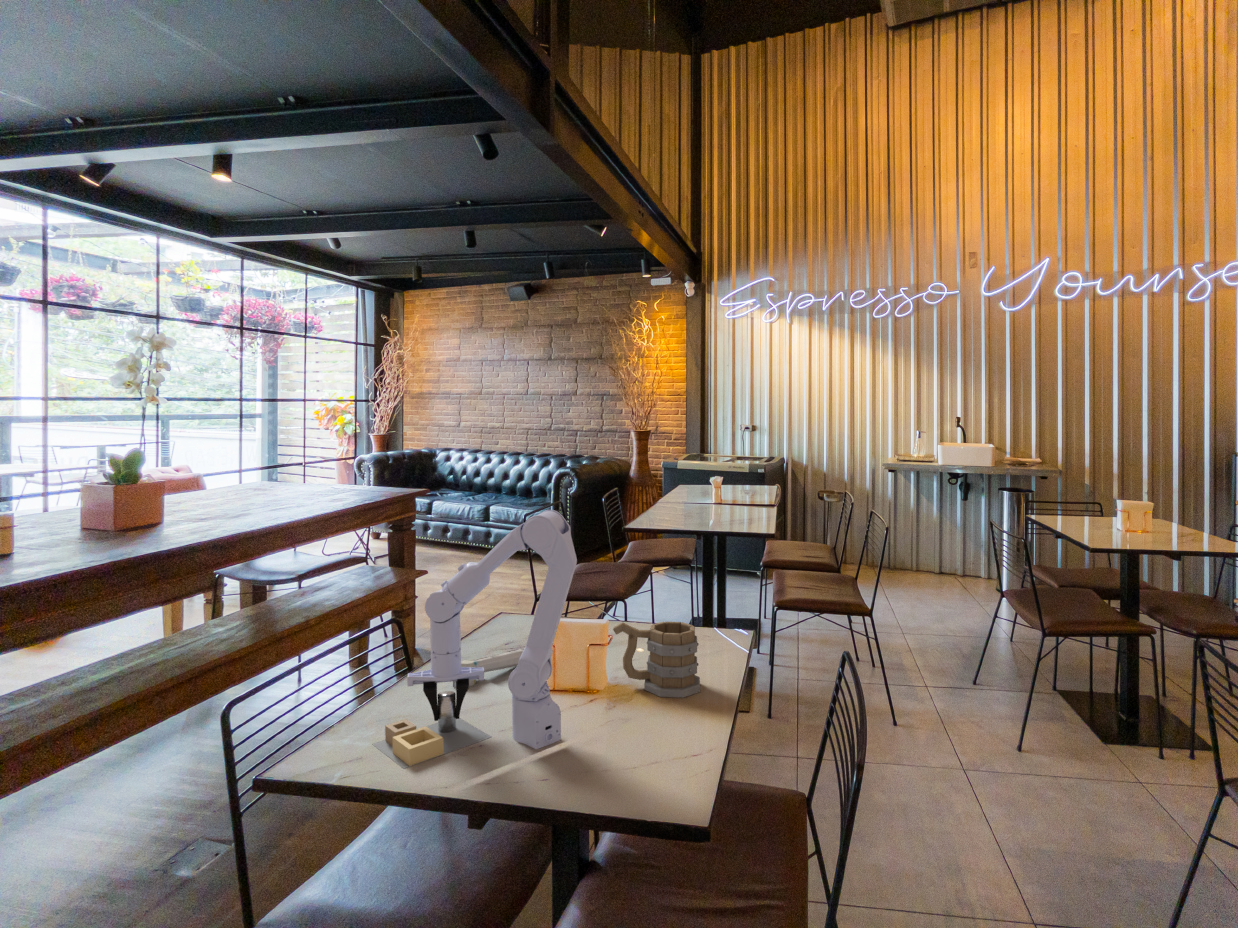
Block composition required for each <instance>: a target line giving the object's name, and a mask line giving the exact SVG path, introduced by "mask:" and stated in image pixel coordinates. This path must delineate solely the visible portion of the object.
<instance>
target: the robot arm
mask: <svg viewBox="0 0 1238 928" xmlns="http://www.w3.org/2000/svg"><path fill="white" fill-rule="evenodd" d="M528 549H532V550H533V551H534V552H535V553H537V555H539V556H540V557H541V558H542V560H543V561H544V563H545V564H546V566H547V572H546V576H545V578H544V583H543V586H542V590H541V593H540V597H539V600H538V602H537V603H538V604H537V606H536V609H535V613H534V616H533V620H532V624H531V626H530V627H531V628H530V631H529V634H528V637H527V641H526V643H525V646H524V647H523V648H524V650H523V653H522V655H521V657H520V659H519V662H518V665H517V666H516V667H515V668H514V669H513V670H512V671H511V672H510V674H509V676H508V680H507V686H508V690H509V691H510V694H511V709H512V711H511V713H512V714H511V715H512V716H511V717H512V718H511V719H512V720H511V721H512V722H511V723H512V724H511V725H512V728H511V729H512V730H511V731H512V733H511V734H512V739H513V740H514V741H515V742H517V743H520V744H524V745H526V746H529V747H530V748H532V749H534V750H538V749H541V748H544V747H546V746H549V745H552V744H554V743H556V742H559V741H561V740H562V721H561V720H562V718H561V717H562V713H561V709H560V706H559V705H558V703H557V702H555V701H554V700H553V698H552V696H551V693H550V691H551V689H550V686H549V684H548V680H549V679H550V677H551V675H552V672H553V665H552V656H553V652H554V651H553V645H554V642H555V637H556V635H557V631H558V628H559V625H560V621H561V617H562V615H563V611H564V607H565V605H566V601H567V598H568V594H569V591H570V589H571V588H570V587H571V585H572V581H573V578H574V573H575V571H576V568H577V563H578V559H577V554H576V551H575V546H574V542H573V538H572V534H571V525H570V524H569V523H568V521H567V520H566V519H565V517H564V516H563V515H562V514H561V513H560V512H559V511H558V510H554V509H546V510H543V511H541V512H539V514H537V515H536V514H535V515H533V516H530V517H529V518H528V519H527V520H525V522H523V523H521V524H519V525H518V526H516V527H514V528H513V529H512V530H511V531H509V532H508V533H507V534H506V535H505V536H504V537H503V538H502V539H501V540H500V541H499V542H498V543H497V544H496V545H495V546H494V547H493V548H492V549H491V550H490V551H488V553H487V554H485V556H484V557H483V558H482V559H481V560H479V561H478V562H477V561H476V562H475V561H469V562H467V563H462V564H461V565H459V567H457V570H458V572H457V573H455V574H454V575H453V576H452V577H451V578H450V579H449V580H444V581H443V582H442V583H441V584H440V586H441V589H439V590H437V591H434V592H432V593H430V595H429V597H428V598H427V599H426V601H425V602H424V603H425V604H424V611H425V614H426V615H427V617H428V618H429V619H430V621H429V624H430V630H429V632H430V633H429V634H430V669H427V670H421V671H417V672H409V673H407V677H406V678H407V680H406V681H407V687H413V686H414V685H416V686H417V685H422V688H423V689H422V691H423V693H424V696H425V697H426V698H427V701H428V702H429V705H430V708H431V710H432V715H433V719H434V722H438V683H439V684H440V683H449V682H450V683H451V682H452V683H453V681H456V688H455V689H456V691H455V694H456V719H459V718H460V713H461V710H462V705H463V702H464V699H465V696H466V694H467V692H468V690H469V688H470V686H469V680H475V679H476V680H478V681H485V672H484V667H480V668H473V667H461V661H462V646H461V645H462V644H461V643H462V641H461V640H462V639H461V634H462V633H461V612H462V611H463V609H464V608H465V606H466V605H467V604H469V603H470V602H471V601H472V600H473V599H475V597H477V595H478V594H480V593H481V592H482V591H483V590H484V589H485V588H486V587H487V586H489V584H490V578H491V577H490V576H491V574H493V572H494V571H496V569H497V568H499V567H500V566H502V564H503V563H505V562H506V561H507V560H508V559H509V558H511V557H512V556H513V555H514V554H516V553H517V551H525V550H528Z"/></svg>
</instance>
